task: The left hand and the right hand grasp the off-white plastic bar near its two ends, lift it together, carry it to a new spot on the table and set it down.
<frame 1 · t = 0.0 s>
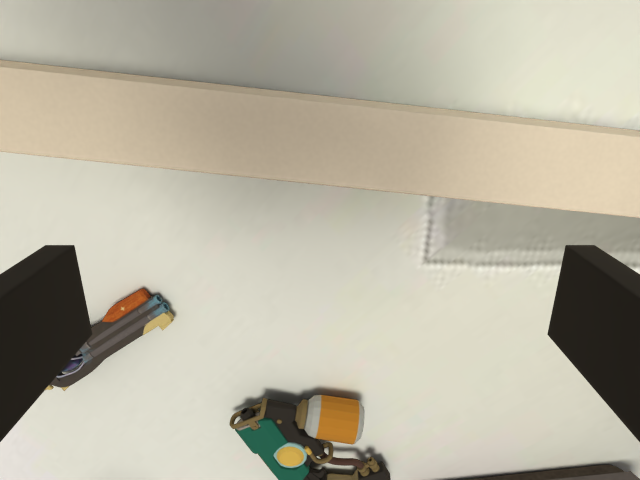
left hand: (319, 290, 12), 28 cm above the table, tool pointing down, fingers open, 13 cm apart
bar: (301, 128, 38), on the table
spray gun: (314, 442, 50), on the table
toy gun: (73, 323, 45), on the table
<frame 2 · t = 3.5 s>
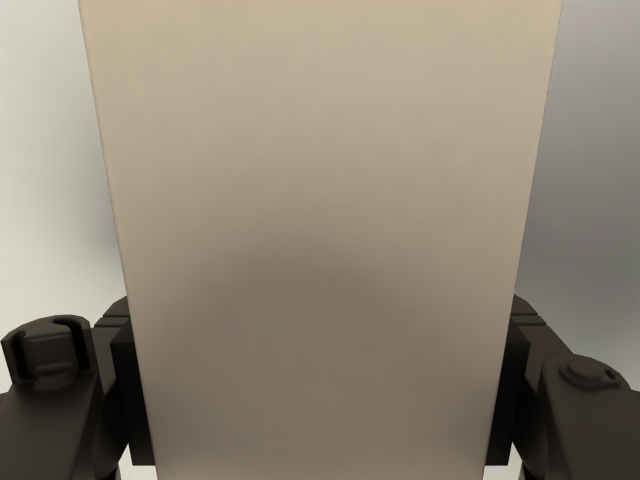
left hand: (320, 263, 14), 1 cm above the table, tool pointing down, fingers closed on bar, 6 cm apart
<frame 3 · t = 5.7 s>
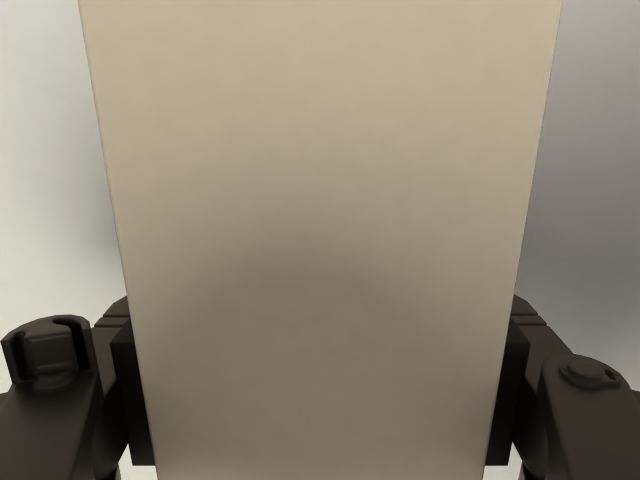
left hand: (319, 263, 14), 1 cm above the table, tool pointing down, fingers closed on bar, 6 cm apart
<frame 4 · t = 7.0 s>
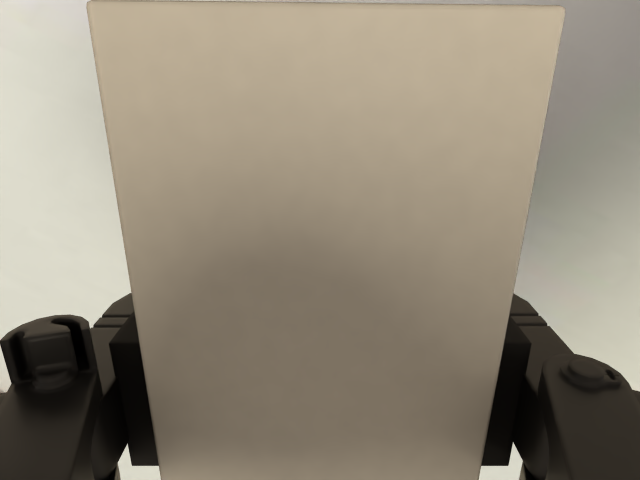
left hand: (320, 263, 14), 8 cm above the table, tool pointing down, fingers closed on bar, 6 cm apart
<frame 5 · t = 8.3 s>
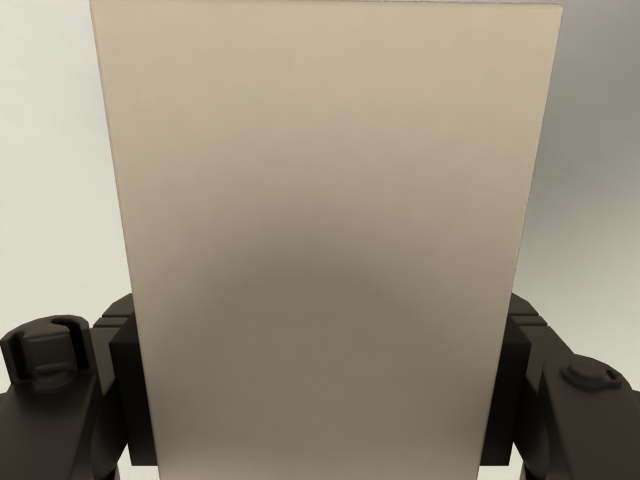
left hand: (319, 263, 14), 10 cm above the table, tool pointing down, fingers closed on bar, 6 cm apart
when the left hand's fingers open (2 cm above the table, at t = 10.8 s): bar drops 1 cm, on the table.
when the right hand's fingers open (4 cm above the table, at t = 11.0 s): bar stays where it is, on the table.
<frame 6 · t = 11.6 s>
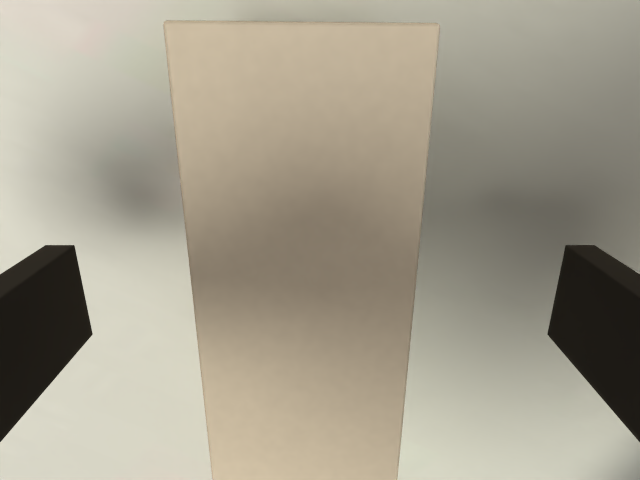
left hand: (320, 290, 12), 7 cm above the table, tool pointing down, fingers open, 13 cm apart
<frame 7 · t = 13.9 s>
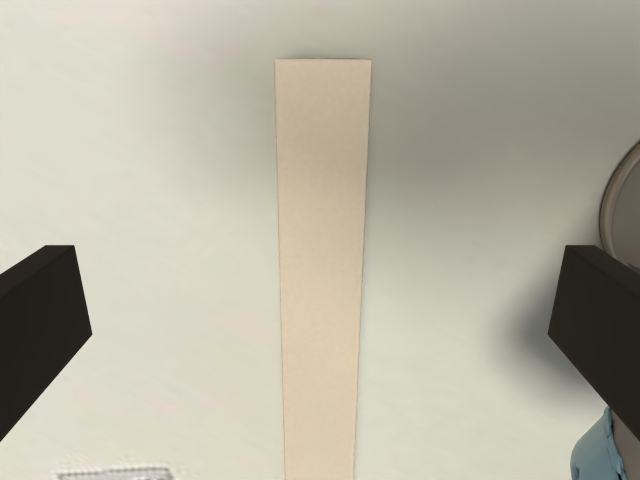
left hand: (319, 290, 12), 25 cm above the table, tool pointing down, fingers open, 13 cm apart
bar: (319, 425, 45), on the table
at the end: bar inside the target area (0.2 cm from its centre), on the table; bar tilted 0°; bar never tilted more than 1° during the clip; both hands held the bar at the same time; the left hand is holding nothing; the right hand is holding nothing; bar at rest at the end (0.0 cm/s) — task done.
